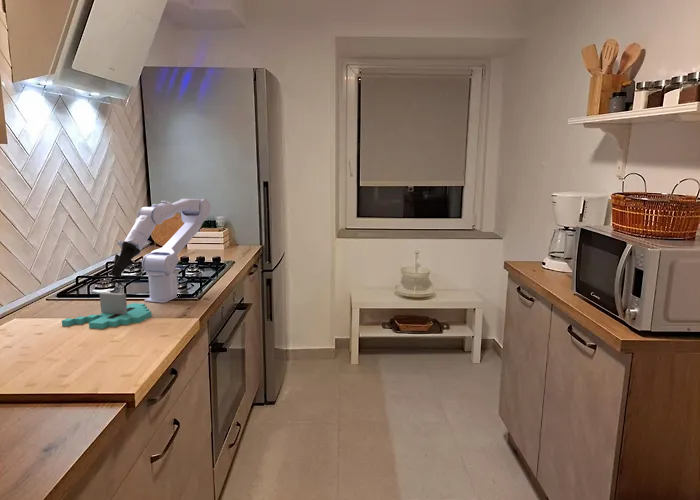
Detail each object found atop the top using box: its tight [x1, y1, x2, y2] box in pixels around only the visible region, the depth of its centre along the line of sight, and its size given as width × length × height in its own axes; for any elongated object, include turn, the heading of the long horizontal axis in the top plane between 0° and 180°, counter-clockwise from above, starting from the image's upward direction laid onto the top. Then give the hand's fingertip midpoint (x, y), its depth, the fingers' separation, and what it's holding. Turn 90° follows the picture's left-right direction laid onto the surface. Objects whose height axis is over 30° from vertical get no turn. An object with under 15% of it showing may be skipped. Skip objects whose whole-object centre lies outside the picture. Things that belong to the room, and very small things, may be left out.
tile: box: [99, 291, 128, 315], centre depth 150 cm, size 2×8×6 cm, turn 75°
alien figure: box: [61, 302, 153, 330], centre depth 152 cm, size 20×2×20 cm
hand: (116, 271), depth 151 cm, fingers open, 7 cm apart
